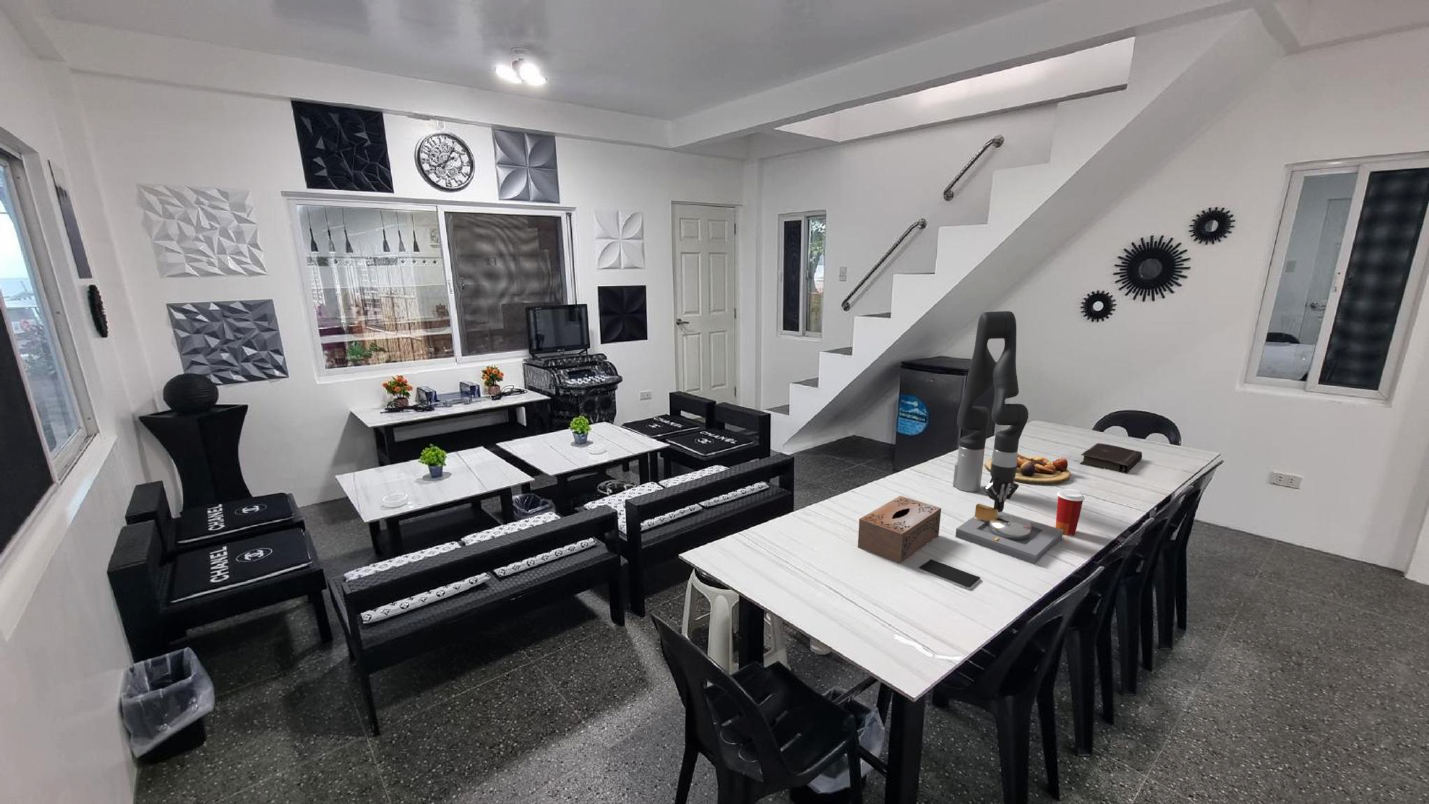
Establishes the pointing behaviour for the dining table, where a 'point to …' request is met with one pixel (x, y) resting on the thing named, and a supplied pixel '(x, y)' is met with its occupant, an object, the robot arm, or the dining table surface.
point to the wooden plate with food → (1039, 470)
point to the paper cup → (1068, 510)
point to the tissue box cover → (899, 528)
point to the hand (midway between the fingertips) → (998, 511)
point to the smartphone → (950, 574)
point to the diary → (1111, 457)
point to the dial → (1004, 523)
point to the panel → (1024, 550)
